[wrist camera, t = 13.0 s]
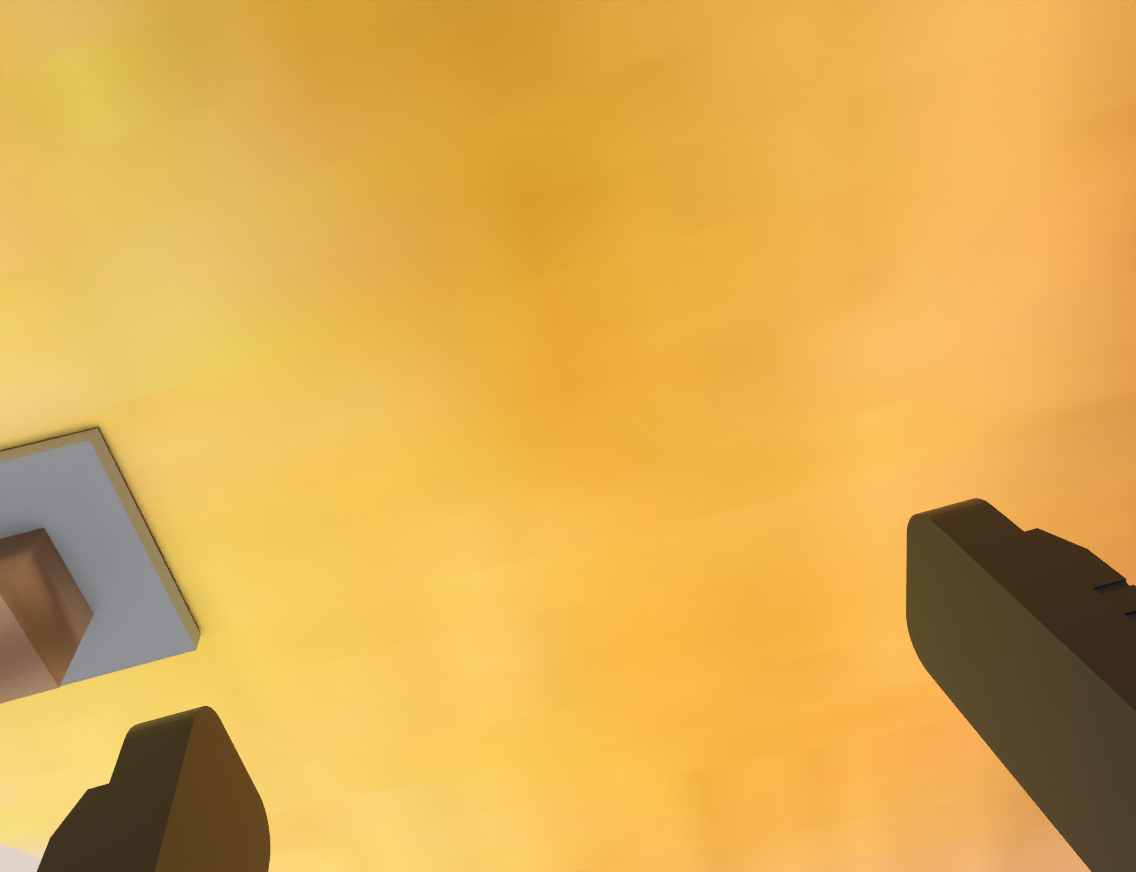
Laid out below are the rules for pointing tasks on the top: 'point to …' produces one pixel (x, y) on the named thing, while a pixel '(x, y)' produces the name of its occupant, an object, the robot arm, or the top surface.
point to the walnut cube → (37, 615)
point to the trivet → (97, 551)
